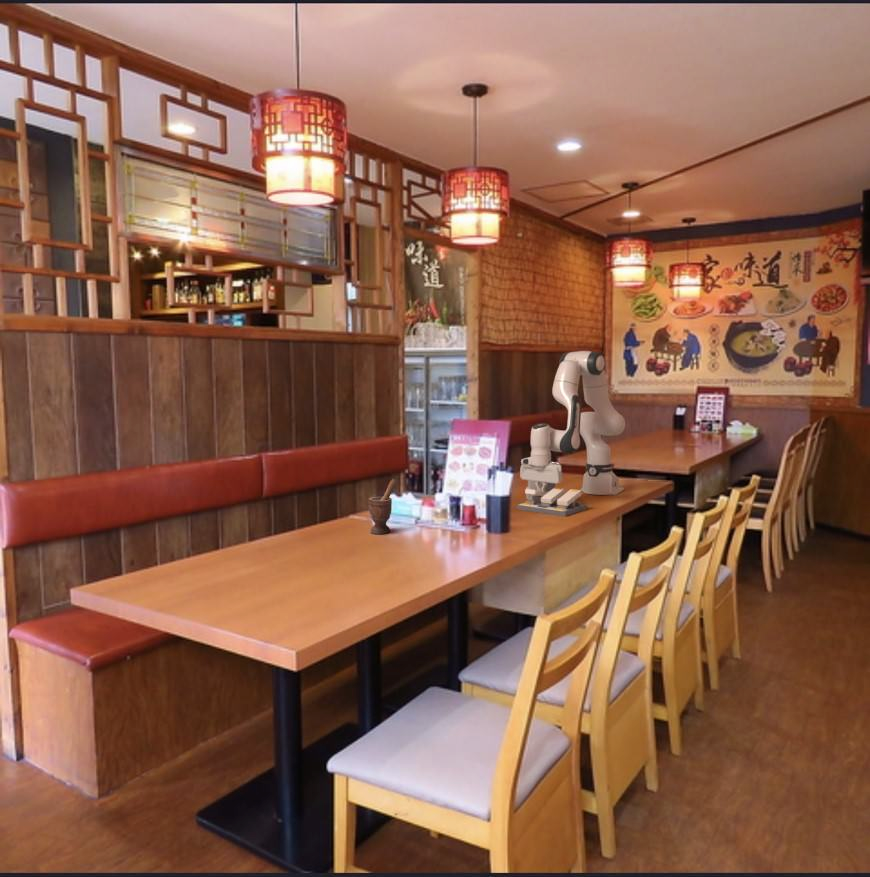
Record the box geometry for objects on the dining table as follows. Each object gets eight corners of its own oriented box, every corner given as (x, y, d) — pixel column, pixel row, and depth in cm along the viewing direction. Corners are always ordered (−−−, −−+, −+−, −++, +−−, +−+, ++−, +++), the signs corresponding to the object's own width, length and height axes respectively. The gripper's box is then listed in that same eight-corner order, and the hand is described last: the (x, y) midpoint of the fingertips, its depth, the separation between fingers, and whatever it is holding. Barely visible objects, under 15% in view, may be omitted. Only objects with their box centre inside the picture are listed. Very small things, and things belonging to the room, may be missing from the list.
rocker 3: (571, 493, 318) (570, 488, 318) (581, 494, 315) (581, 490, 315) (557, 504, 310) (556, 499, 309) (567, 506, 307) (567, 501, 306)
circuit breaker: (558, 499, 339) (558, 467, 337) (527, 499, 339) (527, 467, 338) (556, 496, 346) (556, 465, 345) (526, 496, 347) (526, 465, 345)
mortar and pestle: (384, 527, 288) (383, 476, 286) (401, 529, 283) (400, 478, 281) (365, 533, 278) (363, 481, 276) (382, 536, 273) (381, 483, 271)
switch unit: (539, 502, 332) (539, 492, 332) (586, 509, 316) (587, 498, 316) (517, 509, 318) (517, 498, 318) (565, 516, 303) (565, 505, 302)
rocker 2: (555, 491, 324) (554, 486, 323) (565, 492, 320) (564, 488, 320) (541, 502, 315) (540, 497, 315) (551, 503, 312) (550, 499, 311)
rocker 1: (539, 496, 329) (540, 491, 329) (549, 497, 326) (549, 492, 326) (525, 493, 320) (525, 488, 320) (534, 494, 316) (535, 489, 317)
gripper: (565, 461, 319) (565, 492, 321) (525, 457, 332) (526, 487, 334) (557, 463, 314) (557, 495, 316) (517, 459, 328) (518, 490, 329)
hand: (541, 491), depth 325 cm, fingers closed, pressing on rocker 1
